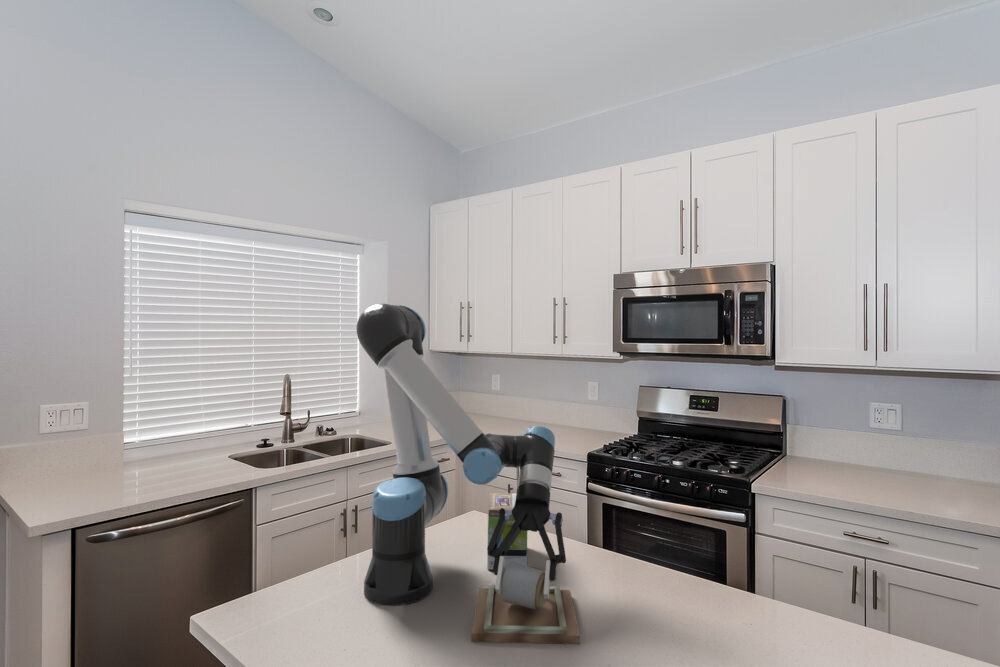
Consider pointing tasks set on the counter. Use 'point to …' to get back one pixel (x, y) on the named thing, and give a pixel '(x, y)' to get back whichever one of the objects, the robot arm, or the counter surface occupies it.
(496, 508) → the tea box
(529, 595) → the ceramic mug
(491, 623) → the board
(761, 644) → the counter surface
